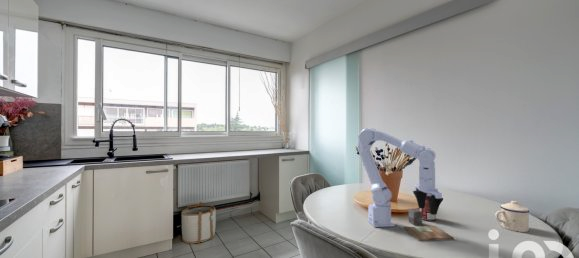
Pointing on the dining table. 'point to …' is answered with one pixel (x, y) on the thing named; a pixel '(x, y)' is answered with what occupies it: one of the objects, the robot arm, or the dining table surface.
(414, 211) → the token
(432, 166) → the robot arm
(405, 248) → the dining table surface
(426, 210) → the soda can
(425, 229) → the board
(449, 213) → the dining table surface
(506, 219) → the teacup with lid
